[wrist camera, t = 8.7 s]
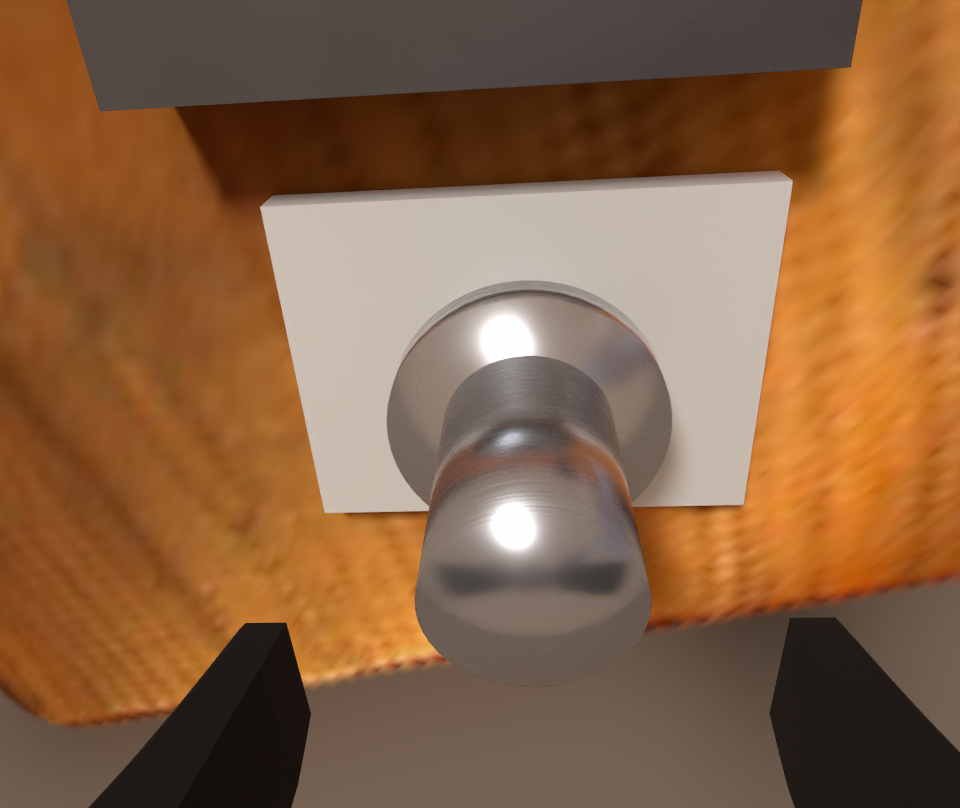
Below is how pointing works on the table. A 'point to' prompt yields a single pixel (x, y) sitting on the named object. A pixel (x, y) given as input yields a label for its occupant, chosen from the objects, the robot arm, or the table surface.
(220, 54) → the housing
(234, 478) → the table surface
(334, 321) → the mat
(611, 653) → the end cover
